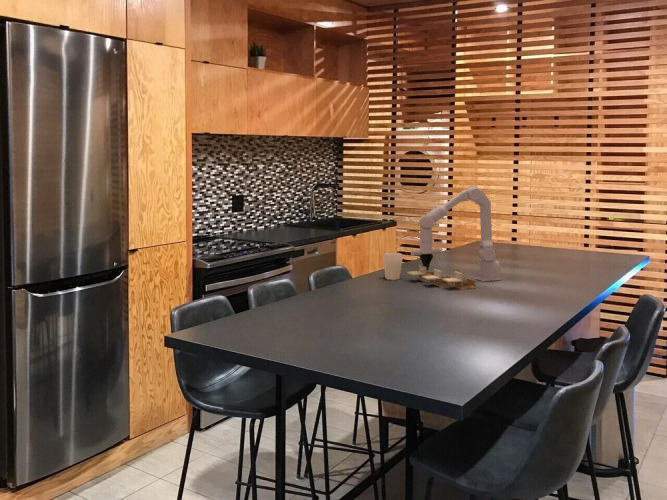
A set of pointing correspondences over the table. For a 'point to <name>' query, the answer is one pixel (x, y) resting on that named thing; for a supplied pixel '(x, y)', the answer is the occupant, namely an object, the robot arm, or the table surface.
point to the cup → (392, 265)
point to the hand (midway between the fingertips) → (426, 270)
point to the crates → (456, 284)
